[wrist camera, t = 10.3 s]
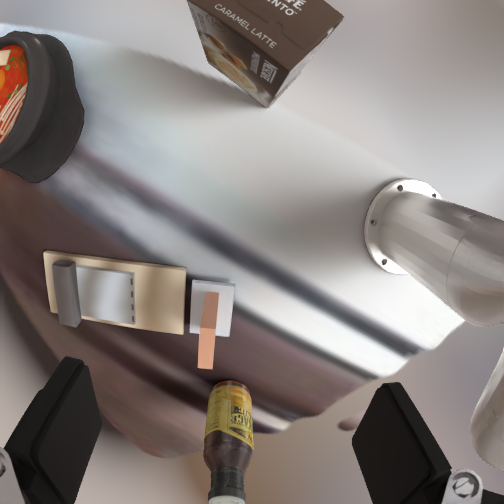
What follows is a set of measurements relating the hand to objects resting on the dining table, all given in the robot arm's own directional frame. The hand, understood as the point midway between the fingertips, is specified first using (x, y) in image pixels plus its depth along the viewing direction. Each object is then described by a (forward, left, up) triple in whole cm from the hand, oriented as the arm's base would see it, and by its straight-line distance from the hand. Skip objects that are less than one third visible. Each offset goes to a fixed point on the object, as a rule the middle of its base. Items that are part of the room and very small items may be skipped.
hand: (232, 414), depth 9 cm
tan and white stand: (+1, +11, -27) cm, 29 cm away
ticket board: (+15, +11, -28) cm, 34 cm away
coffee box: (0, -18, -28) cm, 34 cm away
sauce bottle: (-2, +26, -28) cm, 39 cm away
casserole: (+30, -14, -29) cm, 44 cm away
